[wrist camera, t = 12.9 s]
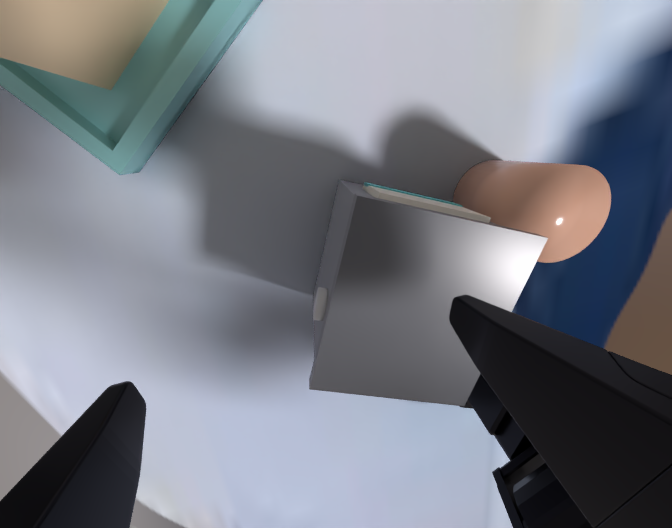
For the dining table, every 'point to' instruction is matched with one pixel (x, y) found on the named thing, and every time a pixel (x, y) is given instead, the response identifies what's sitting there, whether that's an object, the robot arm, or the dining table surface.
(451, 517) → the dining table surface
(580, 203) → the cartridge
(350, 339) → the grey box
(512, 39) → the dining table surface
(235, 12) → the tray
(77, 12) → the carton
